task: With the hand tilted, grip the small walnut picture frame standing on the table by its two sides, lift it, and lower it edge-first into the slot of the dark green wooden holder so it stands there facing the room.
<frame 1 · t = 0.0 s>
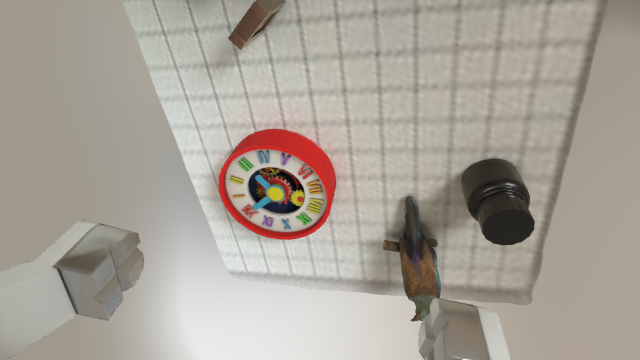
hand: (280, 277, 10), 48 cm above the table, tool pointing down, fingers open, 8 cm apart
bird figurine: (410, 237, 71), on the table
toy clock: (282, 177, 68), on the table
ink bottle: (489, 179, 61), on the table
frame: (268, 13, 52), on the table
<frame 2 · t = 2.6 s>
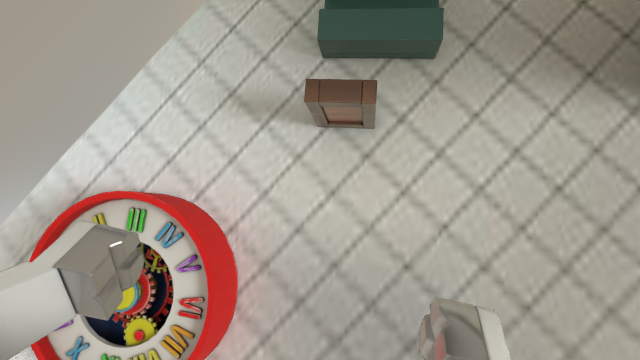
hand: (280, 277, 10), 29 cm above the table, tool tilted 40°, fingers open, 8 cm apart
holder: (379, 15, 40), on the table
toy clock: (152, 283, 41), on the table
frame: (346, 118, 39), on the table
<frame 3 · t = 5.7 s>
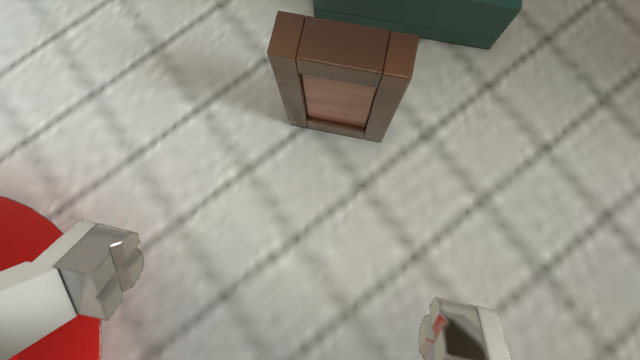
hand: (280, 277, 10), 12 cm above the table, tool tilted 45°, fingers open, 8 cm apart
frame: (338, 119, 24), on the table
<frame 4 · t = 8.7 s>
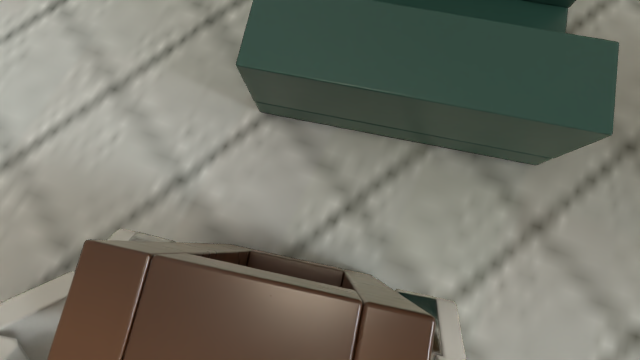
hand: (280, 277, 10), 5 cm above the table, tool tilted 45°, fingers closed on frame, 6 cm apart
holder: (413, 36, 16), on the table
frame: (294, 284, 15), on the table, touching gripper
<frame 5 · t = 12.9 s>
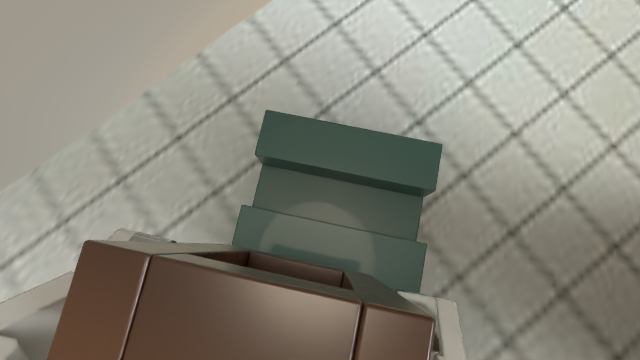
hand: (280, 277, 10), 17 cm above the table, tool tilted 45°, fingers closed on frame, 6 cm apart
holder: (336, 205, 28), on the table
frame: (294, 284, 15), point 12 cm above the table, touching gripper
when the fingers open (6 cm above the table, at t = 17.3 s): frame stays where it is, resting on holder.
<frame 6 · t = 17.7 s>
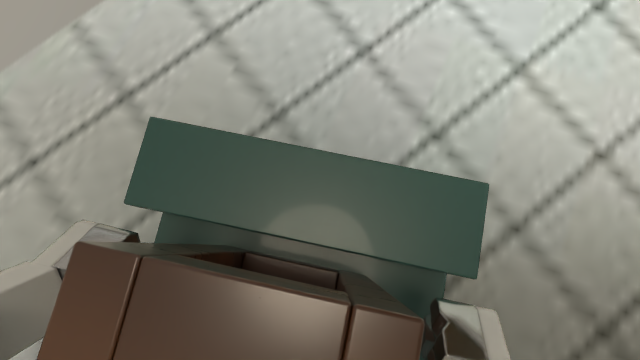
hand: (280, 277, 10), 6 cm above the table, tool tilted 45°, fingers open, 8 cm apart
holder: (295, 281, 16), on the table
frame: (289, 285, 15), point 1 cm above the table, touching holder
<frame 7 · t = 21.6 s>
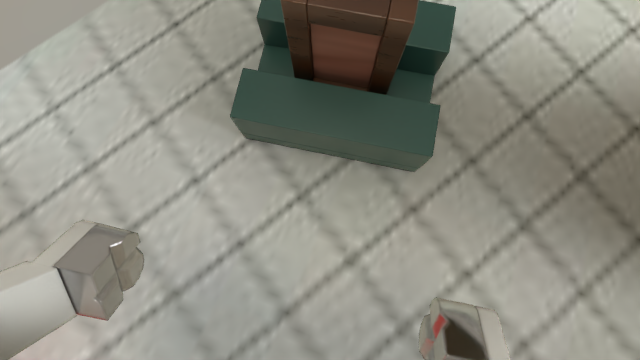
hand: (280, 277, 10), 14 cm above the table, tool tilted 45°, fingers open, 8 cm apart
holder: (342, 90, 26), on the table
frame: (342, 83, 25), point 1 cm above the table, touching holder
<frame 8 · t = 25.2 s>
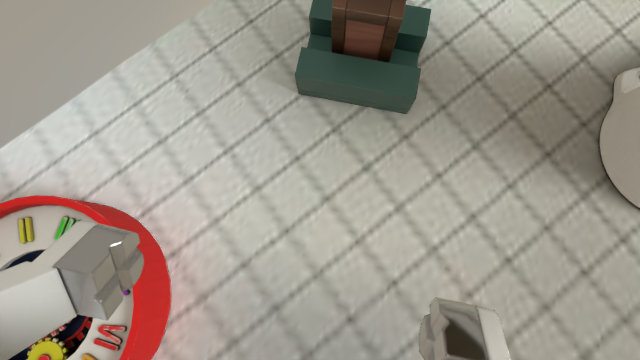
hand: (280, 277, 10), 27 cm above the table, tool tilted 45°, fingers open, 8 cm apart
holder: (360, 63, 41), on the table
toy clock: (74, 301, 37), on the table
frame: (360, 57, 39), point 1 cm above the table, touching holder
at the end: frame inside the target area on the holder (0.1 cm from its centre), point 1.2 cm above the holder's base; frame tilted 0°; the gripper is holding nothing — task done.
